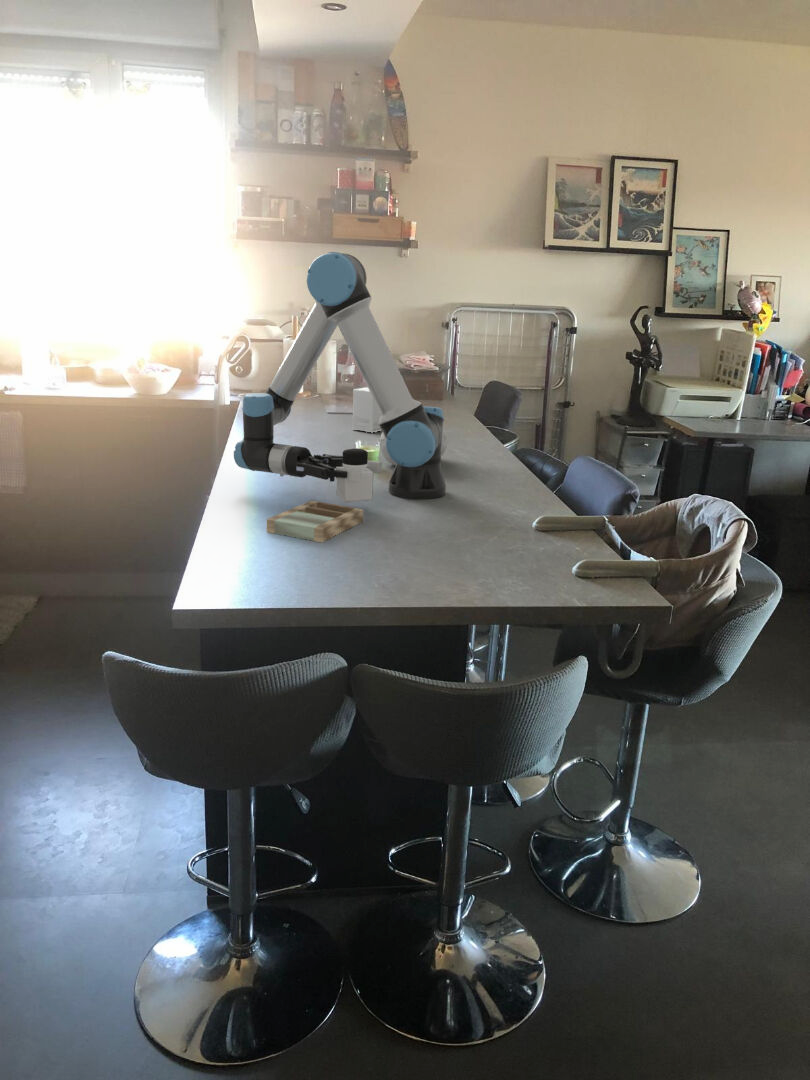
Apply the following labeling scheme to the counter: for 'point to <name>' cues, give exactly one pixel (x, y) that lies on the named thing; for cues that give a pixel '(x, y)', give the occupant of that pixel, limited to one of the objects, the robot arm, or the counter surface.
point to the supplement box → (365, 410)
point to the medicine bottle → (354, 489)
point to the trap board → (315, 521)
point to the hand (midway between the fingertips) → (370, 471)
